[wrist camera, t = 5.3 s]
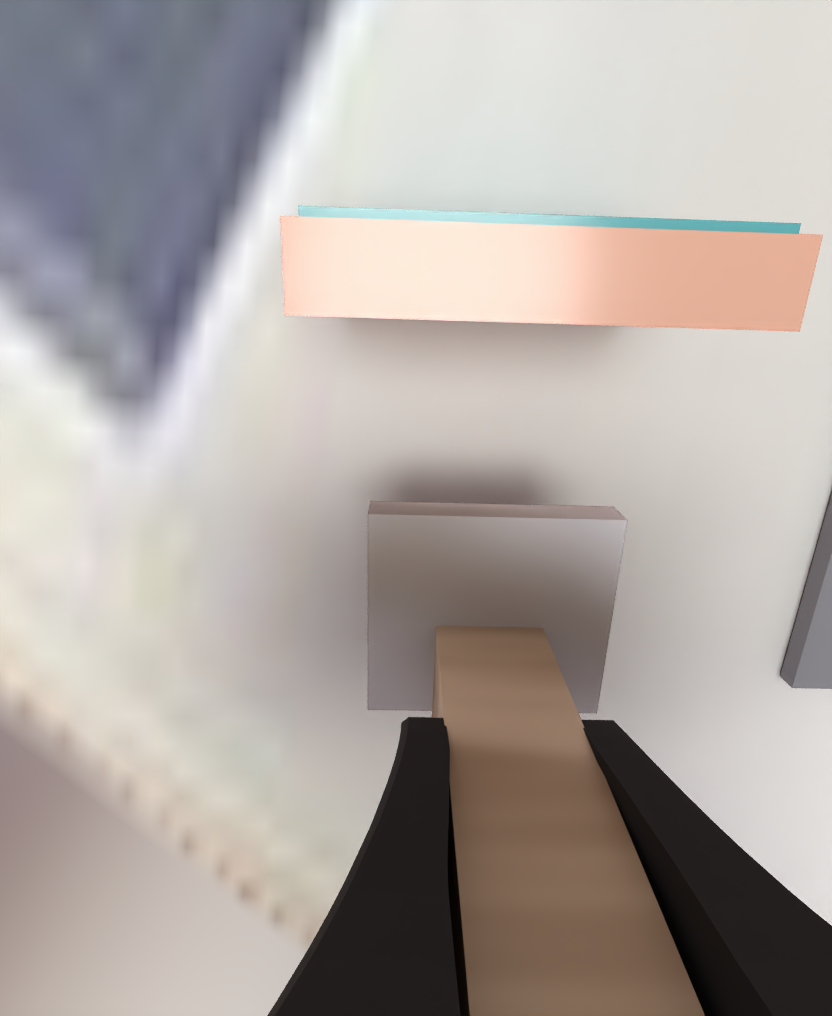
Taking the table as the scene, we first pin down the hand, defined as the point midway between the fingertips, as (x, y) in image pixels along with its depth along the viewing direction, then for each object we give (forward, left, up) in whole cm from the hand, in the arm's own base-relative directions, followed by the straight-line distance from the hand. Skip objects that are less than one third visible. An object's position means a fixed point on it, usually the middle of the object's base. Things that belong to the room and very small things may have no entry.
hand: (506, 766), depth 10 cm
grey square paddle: (+1, 0, -4) cm, 4 cm away
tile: (+8, 0, -8) cm, 11 cm away
